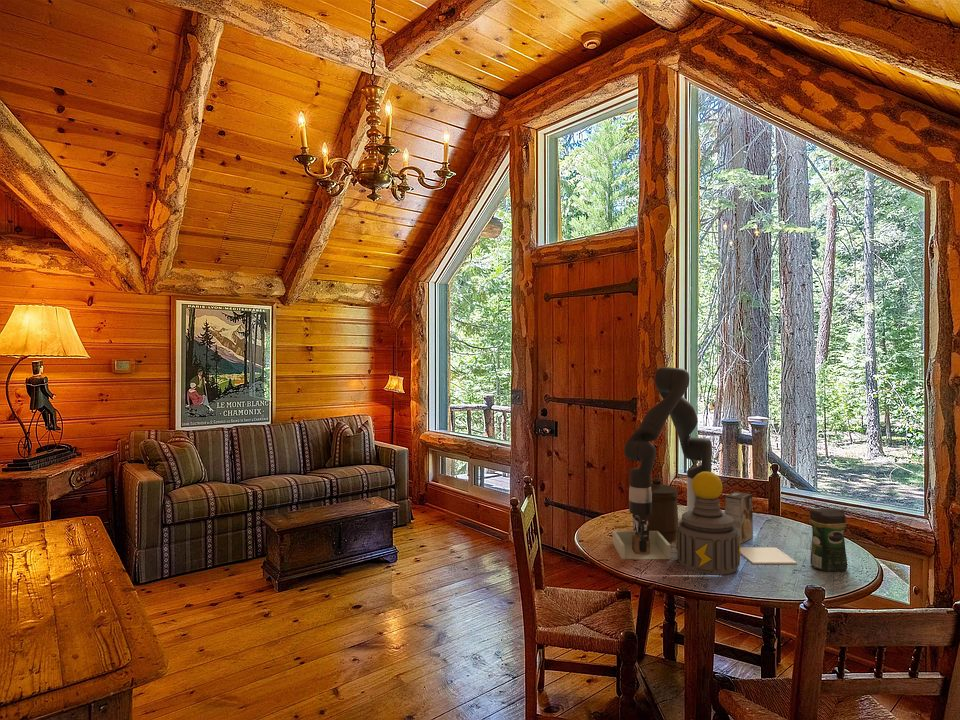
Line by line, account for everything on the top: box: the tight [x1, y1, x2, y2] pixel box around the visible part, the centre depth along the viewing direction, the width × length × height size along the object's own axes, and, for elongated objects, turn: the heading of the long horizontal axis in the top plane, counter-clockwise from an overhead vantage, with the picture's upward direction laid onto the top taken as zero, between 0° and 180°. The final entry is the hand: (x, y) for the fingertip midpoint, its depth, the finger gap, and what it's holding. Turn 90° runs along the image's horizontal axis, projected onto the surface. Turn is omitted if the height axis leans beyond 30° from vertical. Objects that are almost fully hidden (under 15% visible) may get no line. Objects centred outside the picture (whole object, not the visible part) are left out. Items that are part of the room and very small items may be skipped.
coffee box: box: [724, 491, 754, 544], centre depth 206 cm, size 9×6×16 cm
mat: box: [740, 547, 798, 565], centre depth 188 cm, size 14×14×1 cm
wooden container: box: [646, 476, 679, 543], centre depth 209 cm, size 15×15×22 cm
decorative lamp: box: [675, 471, 741, 576], centre depth 180 cm, size 19×19×30 cm
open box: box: [612, 530, 672, 560], centre depth 193 cm, size 15×16×5 cm
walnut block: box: [632, 534, 650, 554], centre depth 192 cm, size 5×5×5 cm
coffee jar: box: [809, 507, 848, 572], centre depth 177 cm, size 10×8×19 cm
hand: (641, 548), depth 192 cm, fingers closed on walnut block, 5 cm apart
